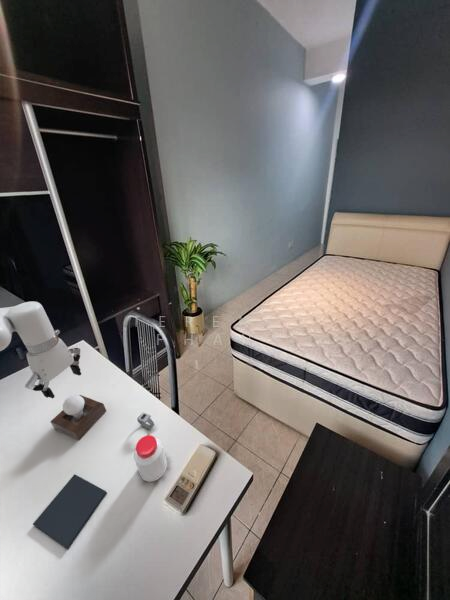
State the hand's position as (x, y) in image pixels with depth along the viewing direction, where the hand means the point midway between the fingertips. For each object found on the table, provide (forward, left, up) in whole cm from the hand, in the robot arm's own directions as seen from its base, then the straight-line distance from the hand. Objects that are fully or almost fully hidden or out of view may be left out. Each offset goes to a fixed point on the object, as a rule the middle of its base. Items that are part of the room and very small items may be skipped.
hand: (64, 384), depth 79 cm
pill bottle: (+34, -4, -17) cm, 38 cm away
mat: (+20, -20, -17) cm, 33 cm away
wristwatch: (+24, +6, -17) cm, 30 cm away
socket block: (0, 0, -17) cm, 17 cm away
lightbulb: (0, 0, -17) cm, 17 cm away
